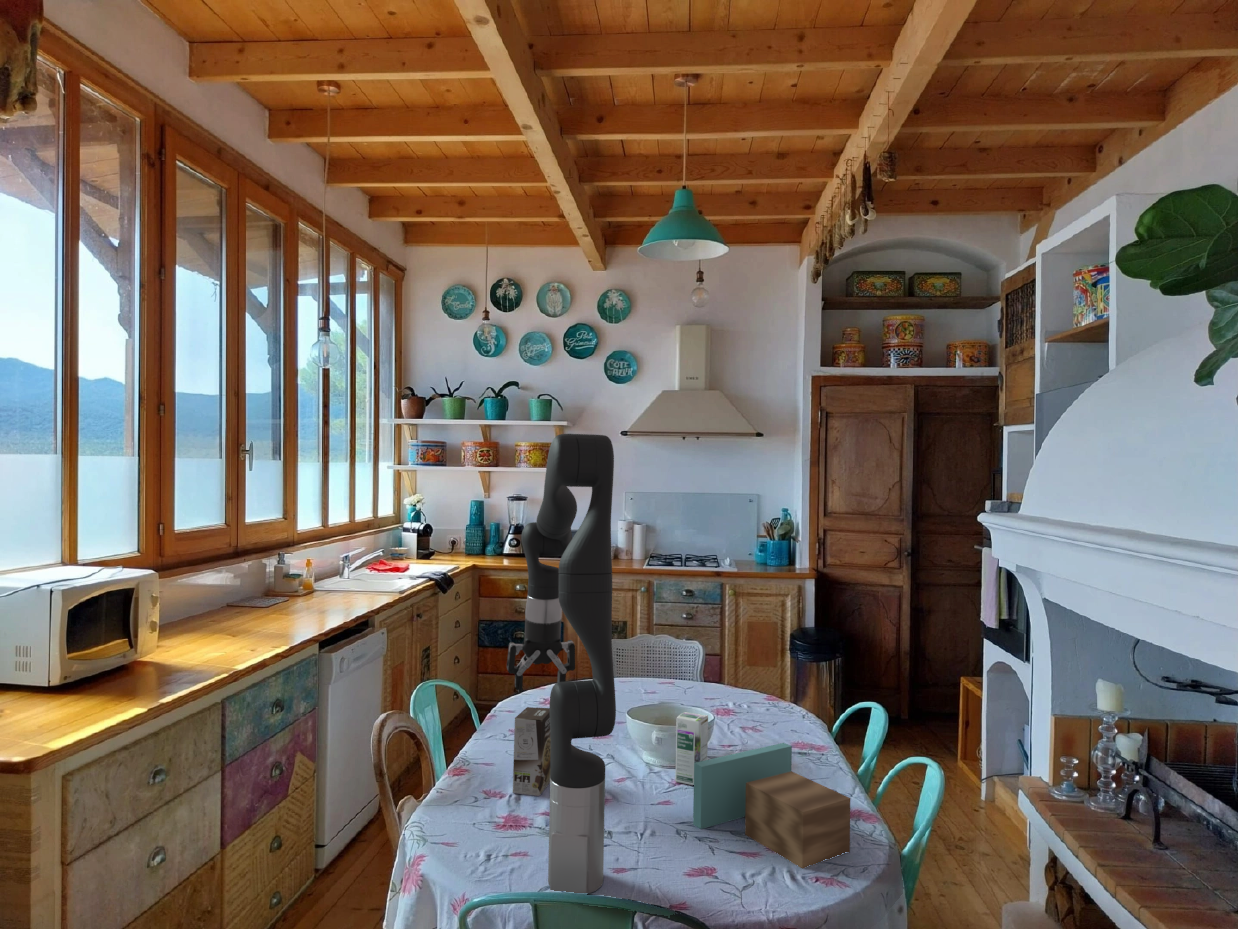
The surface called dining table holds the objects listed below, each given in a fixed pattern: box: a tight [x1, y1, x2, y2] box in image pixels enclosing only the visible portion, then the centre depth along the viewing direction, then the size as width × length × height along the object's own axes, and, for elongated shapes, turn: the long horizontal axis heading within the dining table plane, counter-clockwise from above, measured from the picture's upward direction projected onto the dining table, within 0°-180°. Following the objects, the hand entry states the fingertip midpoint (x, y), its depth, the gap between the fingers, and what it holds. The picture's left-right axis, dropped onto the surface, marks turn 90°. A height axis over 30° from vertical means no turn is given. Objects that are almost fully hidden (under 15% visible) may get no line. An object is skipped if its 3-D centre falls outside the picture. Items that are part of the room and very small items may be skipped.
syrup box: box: [674, 711, 709, 786], centre depth 175 cm, size 6×6×14 cm
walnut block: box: [744, 770, 851, 869], centre depth 145 cm, size 15×12×10 cm
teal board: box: [692, 742, 793, 830], centre depth 158 cm, size 2×24×12 cm, turn 122°
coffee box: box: [512, 706, 551, 797], centre depth 169 cm, size 9×6×16 cm
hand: (539, 690), depth 165 cm, fingers open, 8 cm apart
